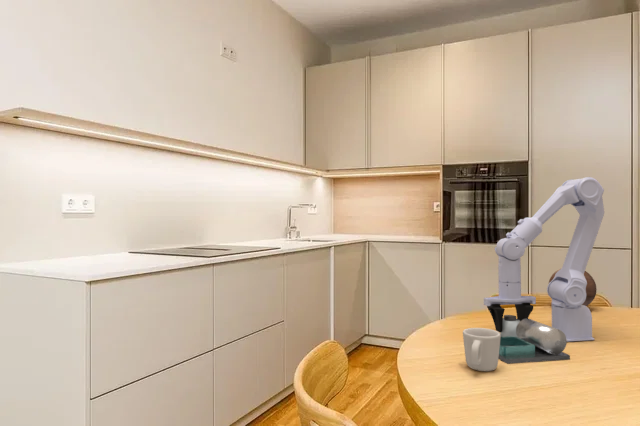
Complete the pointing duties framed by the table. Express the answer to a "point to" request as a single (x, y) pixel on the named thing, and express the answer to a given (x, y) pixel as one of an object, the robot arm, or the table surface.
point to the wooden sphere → (589, 287)
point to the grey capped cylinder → (509, 326)
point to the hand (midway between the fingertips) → (510, 330)
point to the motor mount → (533, 344)
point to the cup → (481, 348)
